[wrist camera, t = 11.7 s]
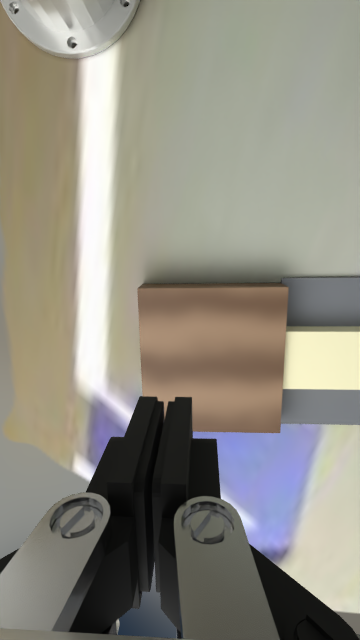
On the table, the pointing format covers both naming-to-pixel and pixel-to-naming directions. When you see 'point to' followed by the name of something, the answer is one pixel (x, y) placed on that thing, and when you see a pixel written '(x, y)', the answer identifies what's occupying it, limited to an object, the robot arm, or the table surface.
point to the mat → (322, 310)
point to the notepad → (322, 357)
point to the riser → (216, 351)
